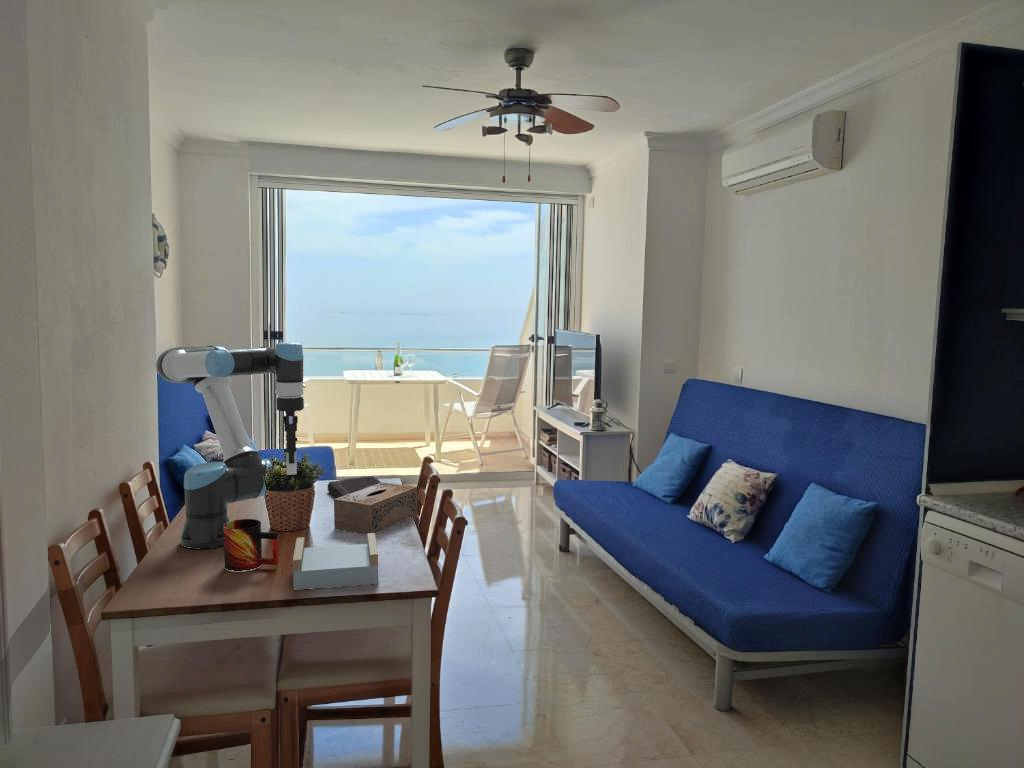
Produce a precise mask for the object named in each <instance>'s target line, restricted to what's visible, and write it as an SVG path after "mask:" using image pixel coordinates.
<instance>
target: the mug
mask: <svg viewBox="0 0 1024 768" xmlns="http://www.w3.org/2000/svg"><path fill="white" fill-rule="evenodd" d="M223 533H224V546H223V554H224V555H223V557H224V569H225V568H226V569H228V570H234V571H242V570H250V569H254V568H257V567H259V566H261V565H262V566H263V565H270V566H272V565H273V566H277V565H279V550H278V547H279V545H278V532H269V531H268V532H266V531H262V522H261V521H260V520H258V519H255V518H240V519H235V520H230V522H227V523H225V524H224V525H223ZM262 540H272V557H263V554H262V553H263V552H262V550H263V549H262V546H263V544H262ZM262 566H261V567H262Z"/></svg>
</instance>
